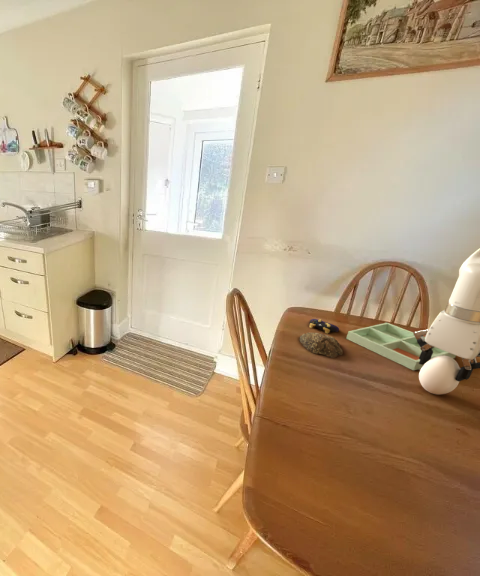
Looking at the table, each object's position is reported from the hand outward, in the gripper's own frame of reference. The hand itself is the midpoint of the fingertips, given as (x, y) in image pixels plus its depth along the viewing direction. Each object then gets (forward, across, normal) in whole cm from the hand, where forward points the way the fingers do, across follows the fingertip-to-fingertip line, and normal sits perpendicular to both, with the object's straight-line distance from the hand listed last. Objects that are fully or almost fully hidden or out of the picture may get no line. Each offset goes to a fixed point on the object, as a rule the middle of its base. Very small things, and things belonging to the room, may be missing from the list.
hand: (441, 370), depth 85 cm
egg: (+7, 0, 0) cm, 7 cm away
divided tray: (+7, +18, -17) cm, 26 cm away
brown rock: (+7, +27, +7) cm, 29 cm away
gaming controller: (+8, +37, -6) cm, 38 cm away
